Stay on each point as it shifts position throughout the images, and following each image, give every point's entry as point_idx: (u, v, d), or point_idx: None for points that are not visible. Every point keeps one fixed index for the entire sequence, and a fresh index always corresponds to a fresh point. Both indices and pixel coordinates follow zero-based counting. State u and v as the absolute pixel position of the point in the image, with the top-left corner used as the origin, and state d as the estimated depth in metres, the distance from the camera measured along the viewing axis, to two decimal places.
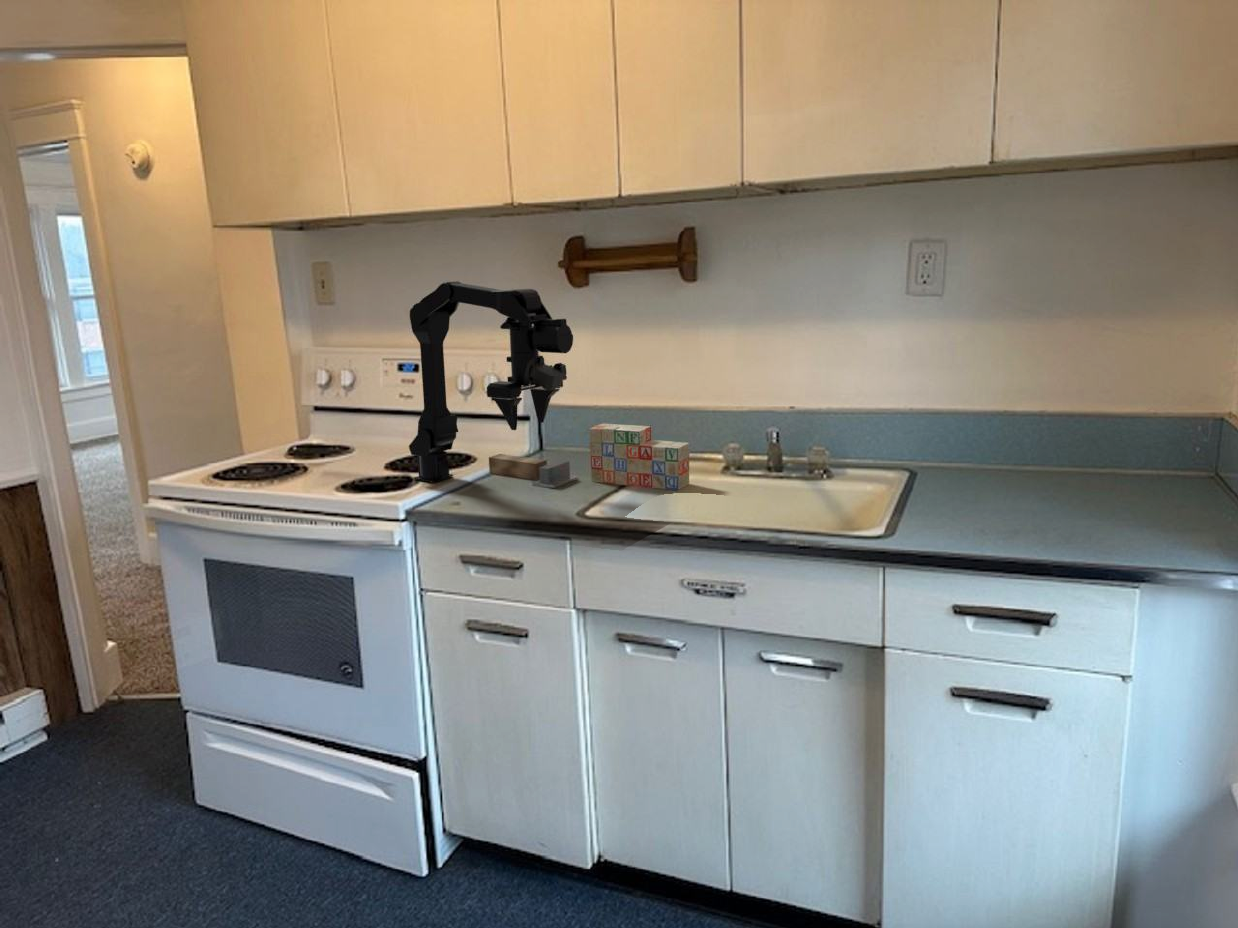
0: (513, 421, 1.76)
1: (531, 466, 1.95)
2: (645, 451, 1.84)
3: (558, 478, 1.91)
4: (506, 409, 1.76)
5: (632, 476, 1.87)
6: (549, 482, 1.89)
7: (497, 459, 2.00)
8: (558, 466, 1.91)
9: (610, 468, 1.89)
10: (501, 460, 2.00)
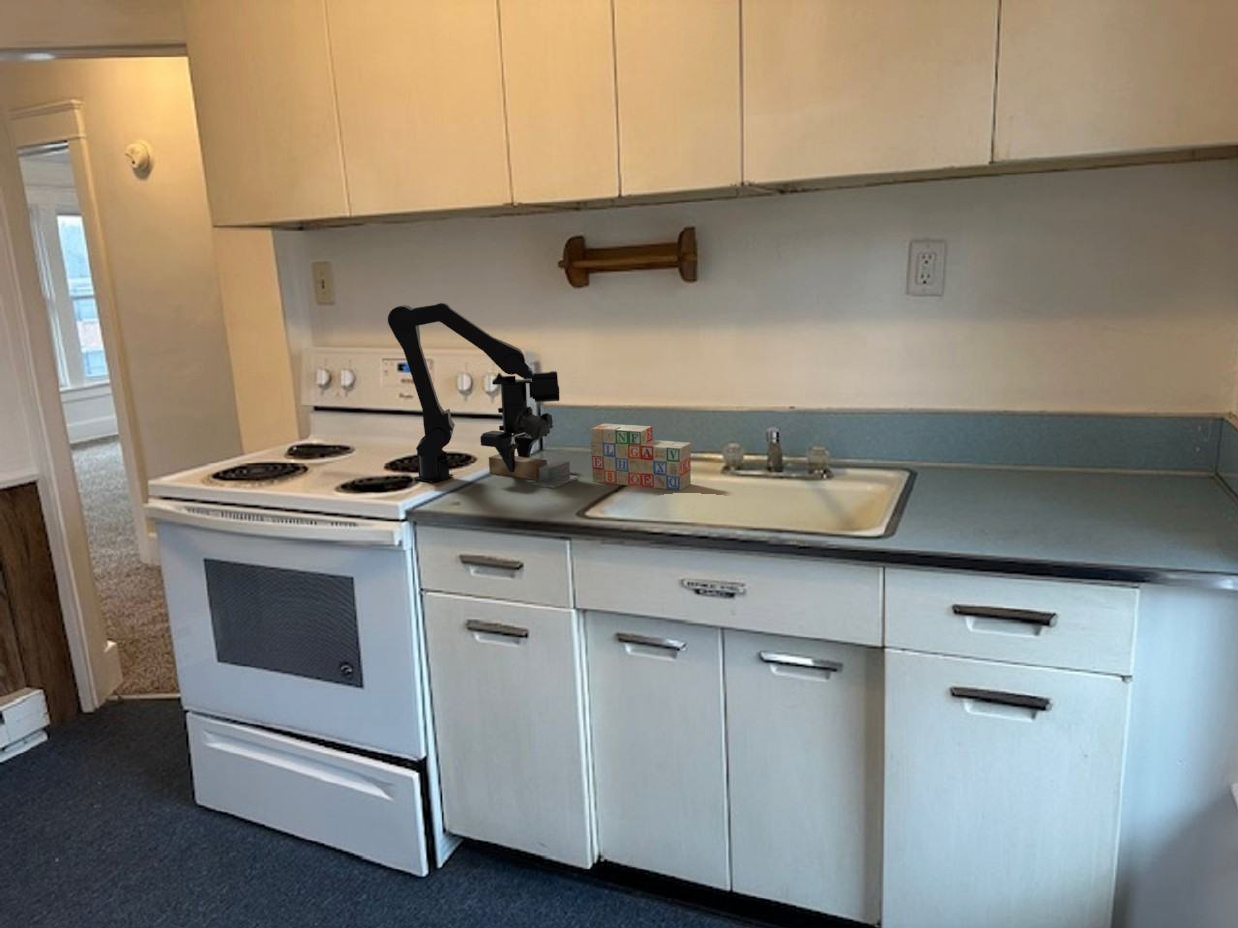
0: (511, 464, 1.97)
1: (531, 466, 1.95)
2: (647, 451, 1.84)
3: (558, 478, 1.91)
4: (505, 453, 1.97)
5: (633, 476, 1.87)
6: (549, 482, 1.89)
7: (497, 459, 2.00)
8: (558, 466, 1.91)
9: (612, 468, 1.89)
10: (501, 460, 2.00)
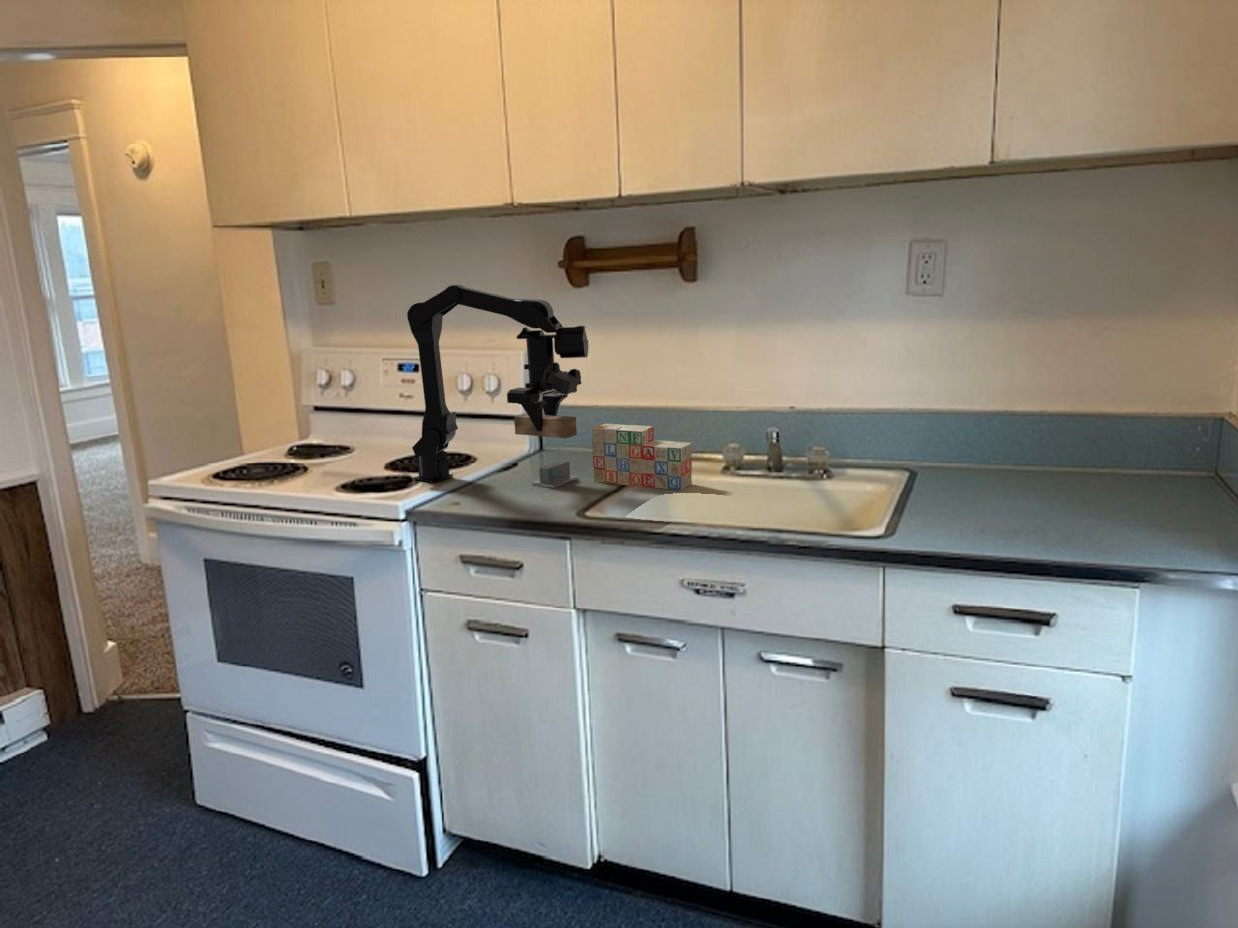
0: (539, 423, 1.89)
1: (560, 423, 1.87)
2: (648, 451, 1.84)
3: (558, 478, 1.91)
4: (532, 412, 1.88)
5: (635, 476, 1.87)
6: (549, 482, 1.89)
7: (523, 418, 1.92)
8: (558, 466, 1.91)
9: (613, 468, 1.89)
10: (528, 419, 1.91)
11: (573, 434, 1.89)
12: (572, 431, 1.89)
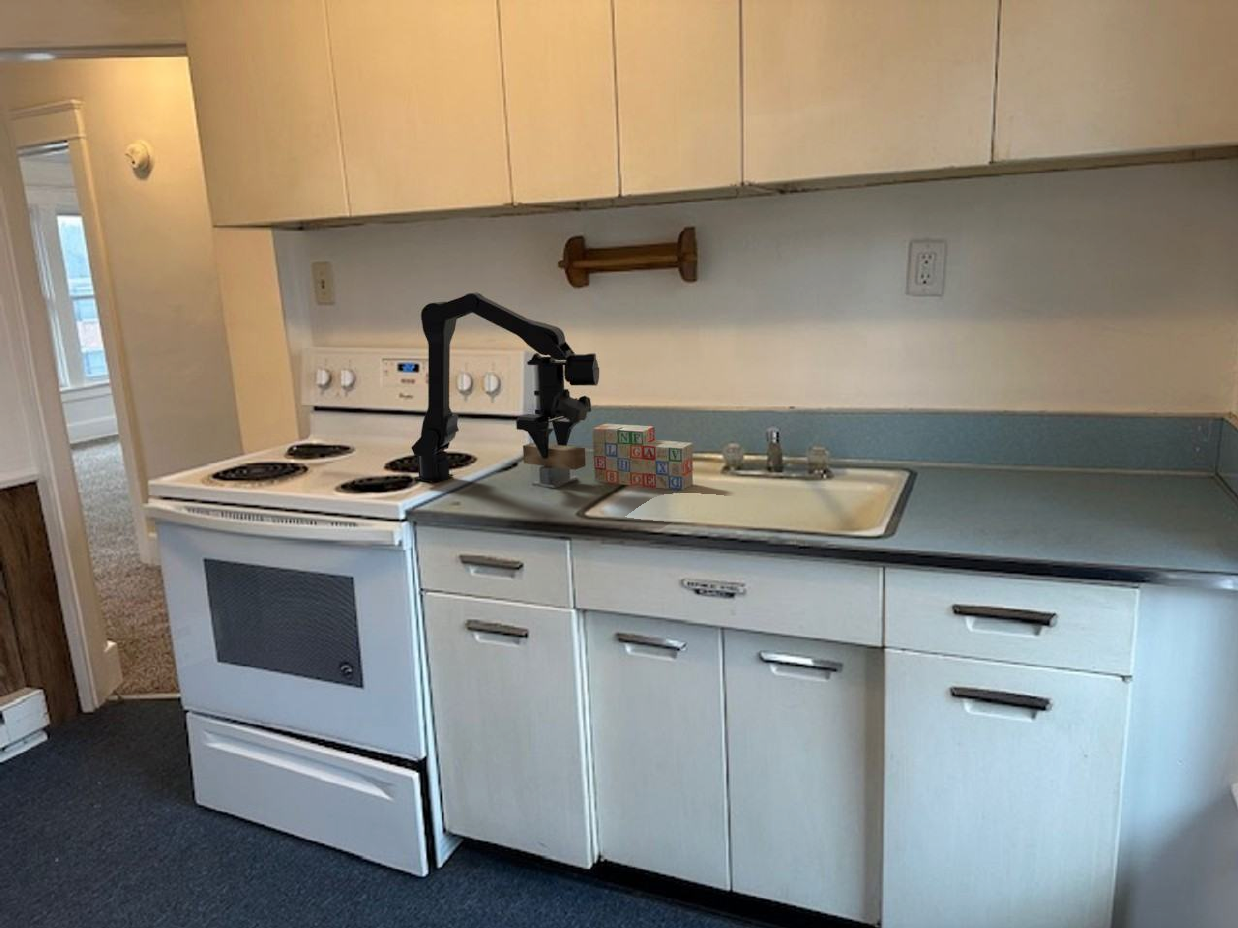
0: (545, 450, 1.87)
1: (569, 454, 1.86)
2: (649, 451, 1.84)
3: (558, 478, 1.91)
4: (538, 439, 1.87)
5: (636, 476, 1.87)
6: (549, 482, 1.89)
7: (532, 447, 1.91)
8: None
9: (614, 468, 1.89)
10: (536, 448, 1.91)
11: (582, 465, 1.88)
12: (581, 462, 1.88)
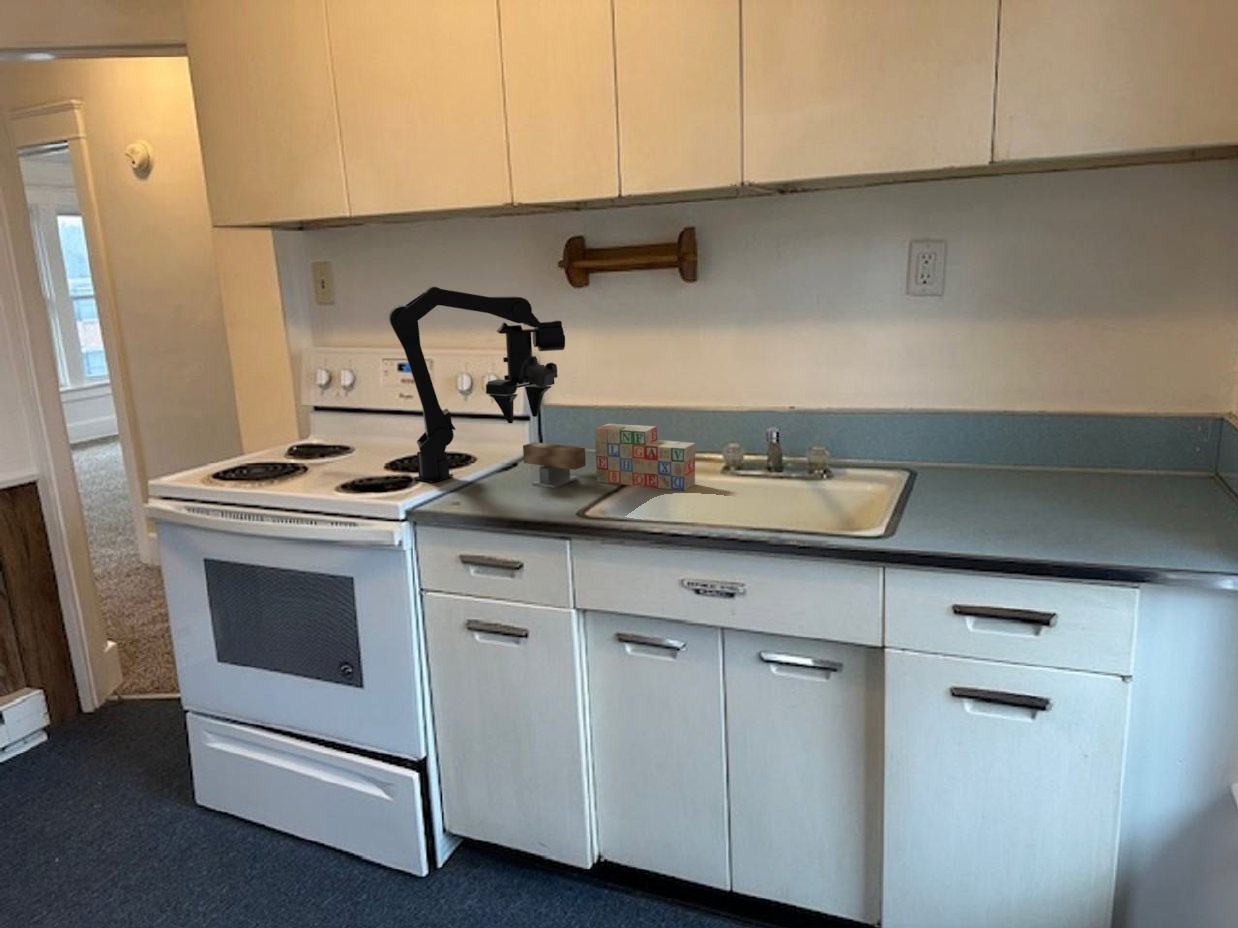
0: (510, 415, 1.96)
1: (569, 454, 1.86)
2: (651, 451, 1.84)
3: (558, 478, 1.91)
4: (503, 404, 1.96)
5: (638, 476, 1.87)
6: (549, 482, 1.89)
7: (532, 447, 1.91)
8: None
9: (616, 468, 1.89)
10: (536, 448, 1.91)
11: (582, 465, 1.88)
12: (581, 462, 1.88)
